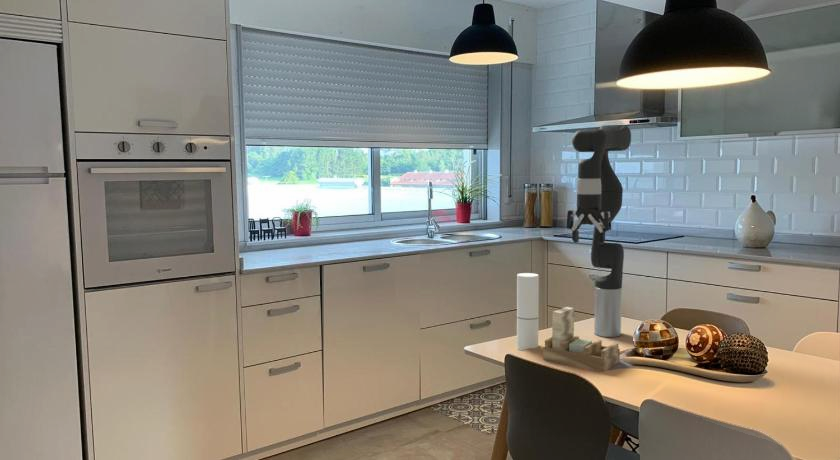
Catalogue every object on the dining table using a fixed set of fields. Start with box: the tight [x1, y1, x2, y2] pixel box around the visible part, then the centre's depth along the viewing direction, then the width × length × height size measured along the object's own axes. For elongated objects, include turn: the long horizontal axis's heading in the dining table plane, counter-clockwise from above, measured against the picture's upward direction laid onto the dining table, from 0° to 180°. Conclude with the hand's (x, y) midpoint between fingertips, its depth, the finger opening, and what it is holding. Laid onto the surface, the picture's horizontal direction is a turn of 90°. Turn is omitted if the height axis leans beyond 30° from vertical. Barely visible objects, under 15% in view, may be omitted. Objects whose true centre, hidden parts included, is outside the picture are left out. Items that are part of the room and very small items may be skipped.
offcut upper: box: [569, 338, 593, 354], centre depth 201 cm, size 7×5×3 cm, turn 145°
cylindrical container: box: [516, 272, 540, 352], centre depth 218 cm, size 7×7×25 cm
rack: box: [542, 335, 621, 373], centre depth 201 cm, size 12×19×7 cm, turn 51°
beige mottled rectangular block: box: [551, 306, 575, 350], centre depth 205 cm, size 9×3×15 cm, turn 141°
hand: (588, 243), depth 209 cm, fingers open, 8 cm apart
